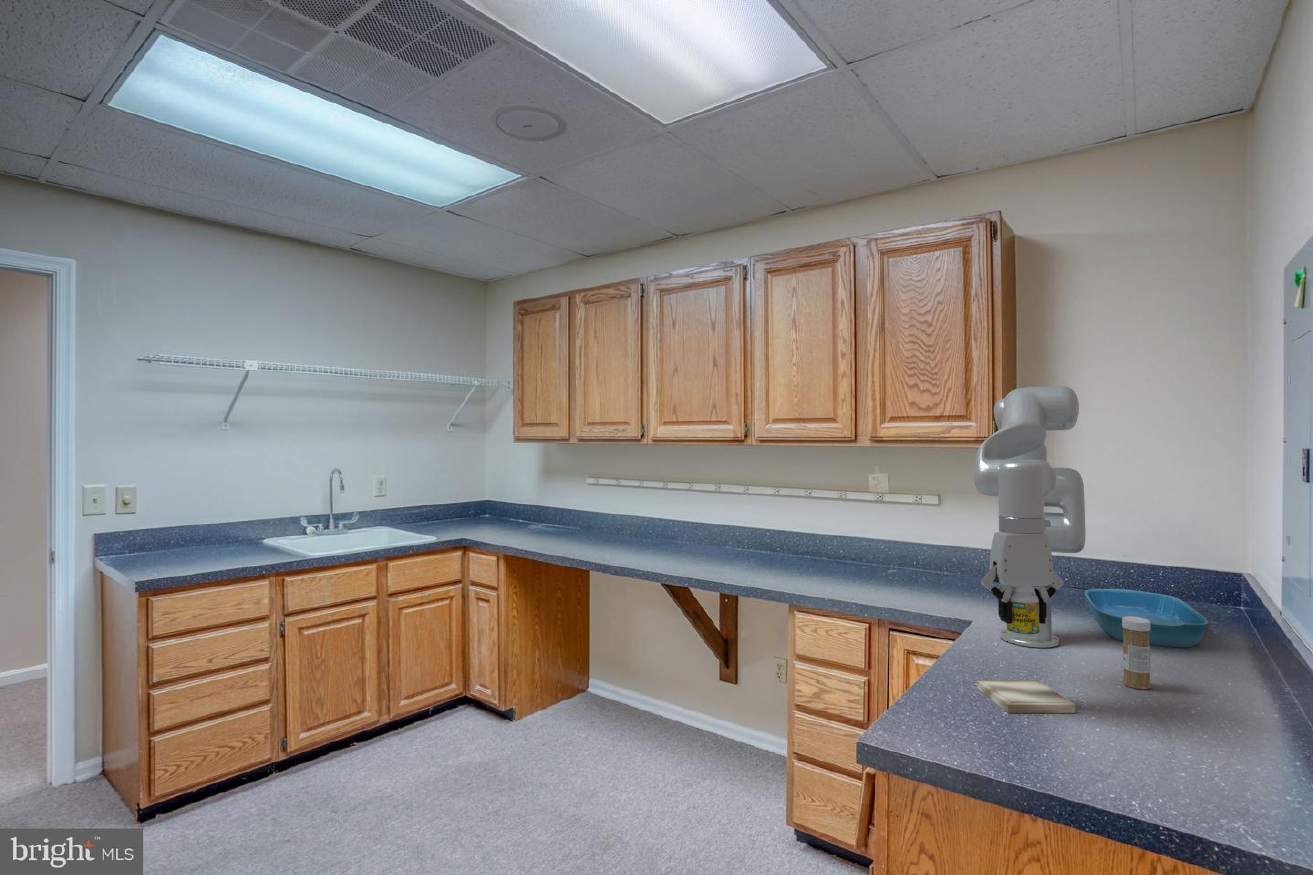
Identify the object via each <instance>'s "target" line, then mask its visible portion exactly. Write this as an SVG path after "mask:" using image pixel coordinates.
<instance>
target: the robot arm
mask: <svg viewBox="0 0 1313 875" xmlns="http://www.w3.org/2000/svg"><path fill="white" fill-rule="evenodd" d="M1077 395H1078V394H1076V392H1075V391H1074V390H1073V389H1072V388H1071V387H1069V386H1065V385H1053V386H1052V385H1051V386H1050V385H1049V386H1046V385H1045V386H1044V385H1043V386H1026V387H1018V388H1015V389H1012V390H1011V391H1010V392H1008V393H1007V394H1006V396H1005V397H1004V398H1001V399H999V400H998V401H996V402H995V404H994V406H993V415H994V421H995V423H996V424H995V425H996V426H997V429H998V430H997V431H995V432H994V433H992V434H990V436H988V437H987V438H986V439H984V441H983V442H982V443H981V444H980V446H979V447H978V450H977V452H976V456H975V462H974V464H975V465H974V471H973V476H974V477H973V480H974V486H975V488H976V490H977V491H978V492H979V493H980V494H982V495H984V496H988V497H998V531H994V534H993V537H992V542H991V548H990V553H989V554H990V555H989V556H990V557H989V570H988V572H987V573H986V574H985V575H984V576H983V577H982V579H981V580H980V584H981V585H982V586H983V587H984V588H985V589H987V590H988V591H989V592H990V593H991V594H992V595H993V596H994V597H995V599H997V601H998V602H997V603H998V608H997V609H998V611H997V612H998V617H999V620H1000V621H1002V622H1003V623H1006V625H1007V624H1011V623H1012V603H1010V602H1009V598H1010V595H1011V592H1012V589H1013V587H1022V586H1026V585H1029V586H1032V587H1034V592H1033V594H1035V595H1036V596H1037V597H1038V599H1039V629H1040V634H1039V636H1038V637H1035V638H1023V637H1017V636H1013V635H1011V634H1009V633H1008V632H1007V628H1006V629H1002V630H1001V631H1000V633H999V635H1000V639H1002V640H1003V641H1006V642H1007V641H1008V642H1007V643H1010V644H1013V643H1014V645H1018V646H1023V647H1030V648H1037V649H1038V648H1055V647H1057V646H1059V645H1060V638H1059V637H1058V636H1056V635H1054V634H1052V631H1053V629H1052V628H1053V627H1052V626H1053V625H1052V624H1053V623H1052V597H1053V596H1054V595H1055V594H1056V593H1057V591H1058V590H1059V589H1061V588H1062V587H1063V586H1064V585H1065V581H1064V580H1063V579H1062V578H1061V577H1060V576H1059V574H1057V573H1056V571H1055V570H1054V562H1053V561H1054V560H1053V554H1052V553H1059V554H1060V553H1061V554H1076V553H1077V554H1079V553H1080V552H1082V551H1083V550H1084V548H1085V544H1086V514H1085V513H1086V508H1085V506H1086V505H1085V504H1086V503H1085V487H1084V480H1083V477H1082V475H1081V473H1080V472H1079V471H1077V470H1076V469H1074V468H1070V467H1052V465H1051V464H1050V462H1047V460H1048V459H1047V457H1048V456H1047V454H1048V452H1047V446H1046V444H1045V442H1046V438H1047V431H1068V430H1072V429H1073V428H1074V427H1075V426H1076V425H1077V422H1078V419H1079V412H1080V402H1079V398H1078V396H1077ZM1045 507H1049V508H1059V509H1061V510H1062V512H1048V511H1047V512H1046V511H1045ZM994 583H996V584H998V586H996V585H995V584H994Z"/></svg>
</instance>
